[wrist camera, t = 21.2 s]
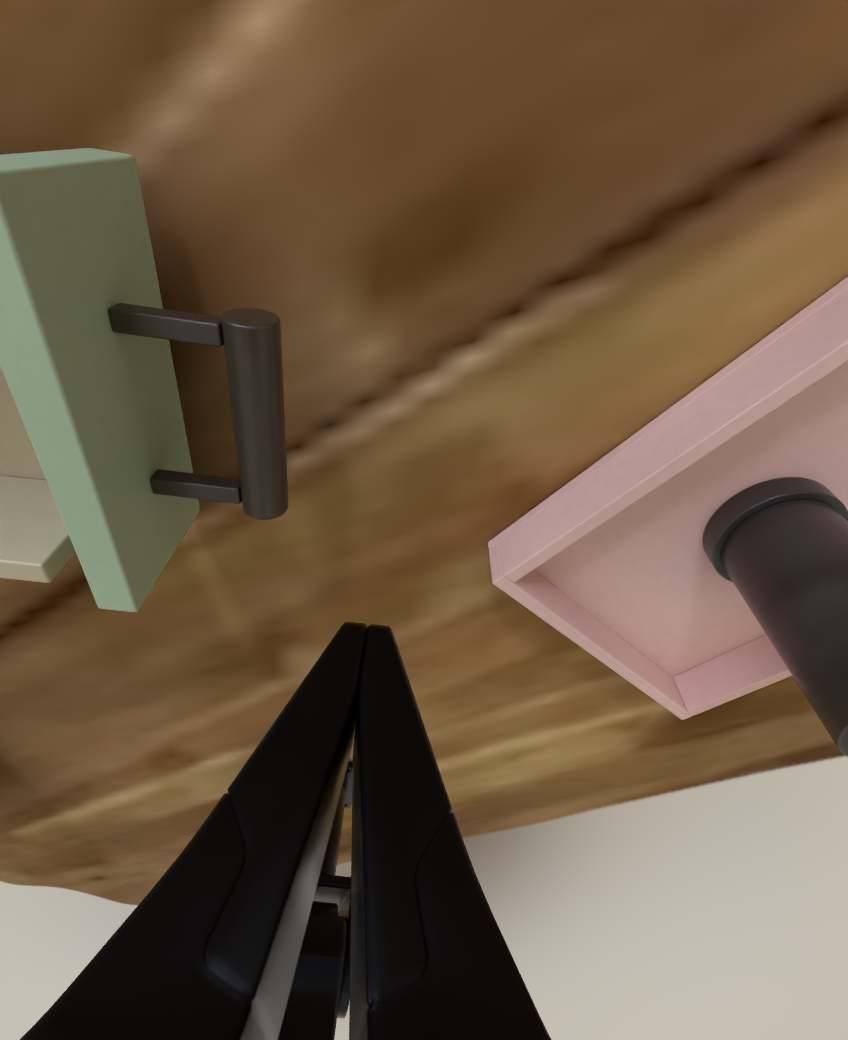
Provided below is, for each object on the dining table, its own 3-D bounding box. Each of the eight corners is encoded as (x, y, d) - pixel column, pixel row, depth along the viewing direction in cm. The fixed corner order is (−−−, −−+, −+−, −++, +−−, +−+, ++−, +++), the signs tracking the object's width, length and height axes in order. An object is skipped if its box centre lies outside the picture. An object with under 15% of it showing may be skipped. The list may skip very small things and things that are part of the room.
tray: (664, 677, 27) (682, 720, 25) (487, 541, 22) (492, 583, 20) (1069, 491, 19) (1141, 533, 17) (958, 192, 13) (1046, 205, 12)
